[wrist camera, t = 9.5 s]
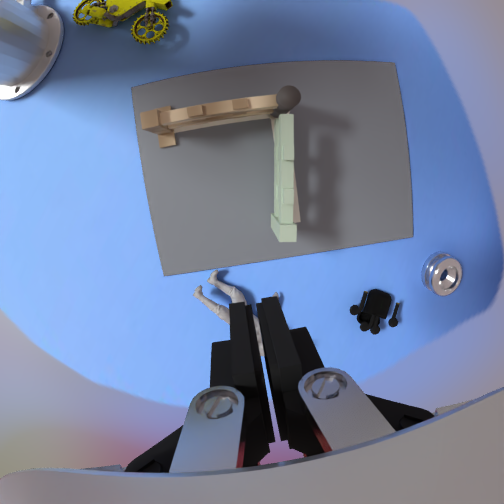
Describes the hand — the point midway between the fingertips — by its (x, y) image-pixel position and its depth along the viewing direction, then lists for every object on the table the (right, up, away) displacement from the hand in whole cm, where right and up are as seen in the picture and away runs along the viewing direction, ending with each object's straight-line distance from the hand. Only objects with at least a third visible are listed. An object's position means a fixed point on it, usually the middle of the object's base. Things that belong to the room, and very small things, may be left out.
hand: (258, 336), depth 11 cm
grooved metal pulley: (+23, +1, +24) cm, 33 cm away
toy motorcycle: (-13, +29, +14) cm, 34 cm away
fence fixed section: (-3, +16, +18) cm, 24 cm away
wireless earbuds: (+14, -4, +25) cm, 29 cm away
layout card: (+3, +12, +19) cm, 23 cm away
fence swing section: (+2, +10, +19) cm, 22 cm away
